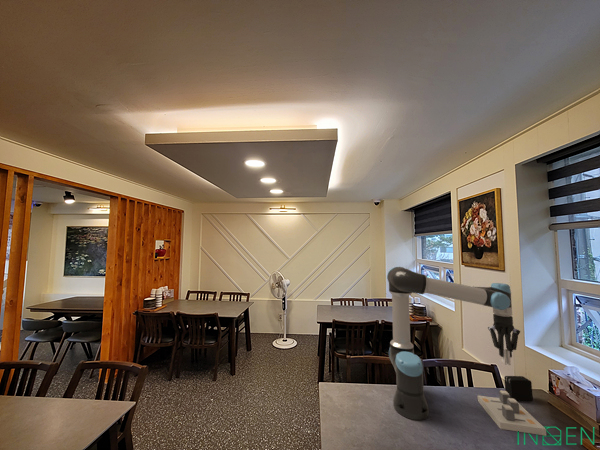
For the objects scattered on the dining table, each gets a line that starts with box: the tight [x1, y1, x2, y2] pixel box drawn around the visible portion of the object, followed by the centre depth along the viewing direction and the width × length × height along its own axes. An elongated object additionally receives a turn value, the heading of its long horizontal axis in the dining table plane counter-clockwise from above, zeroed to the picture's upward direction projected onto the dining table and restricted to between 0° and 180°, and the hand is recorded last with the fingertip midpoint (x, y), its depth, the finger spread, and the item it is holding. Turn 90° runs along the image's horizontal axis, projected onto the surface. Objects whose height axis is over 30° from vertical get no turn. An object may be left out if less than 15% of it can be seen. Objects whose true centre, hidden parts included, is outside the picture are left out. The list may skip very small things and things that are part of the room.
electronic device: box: [503, 375, 534, 403], centre depth 121 cm, size 4×10×10 cm, turn 89°
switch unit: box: [477, 395, 547, 437], centre depth 108 cm, size 16×19×3 cm
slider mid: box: [507, 398, 520, 414], centre depth 108 cm, size 3×3×5 cm
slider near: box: [502, 405, 515, 421], centre depth 103 cm, size 3×3×5 cm
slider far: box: [498, 389, 510, 404], centre depth 113 cm, size 3×3×5 cm
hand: (506, 363), depth 119 cm, fingers closed
